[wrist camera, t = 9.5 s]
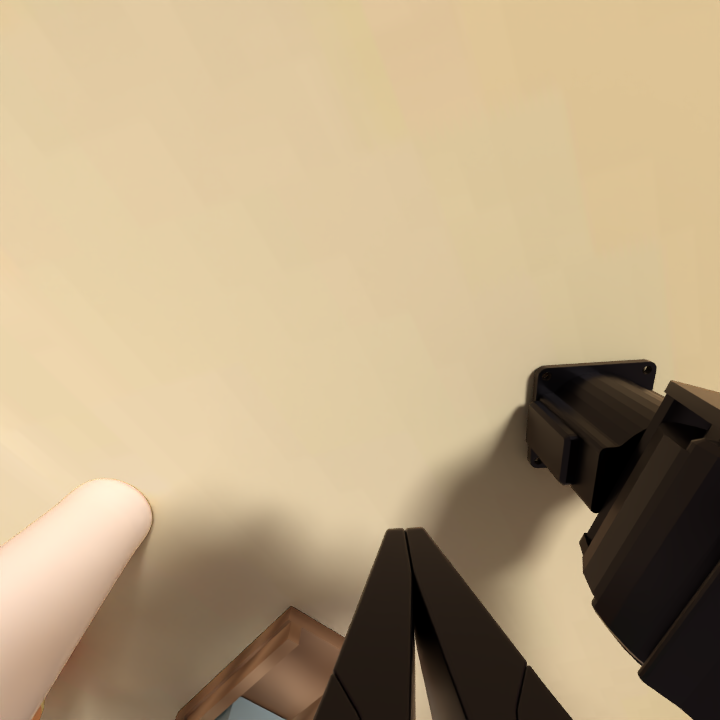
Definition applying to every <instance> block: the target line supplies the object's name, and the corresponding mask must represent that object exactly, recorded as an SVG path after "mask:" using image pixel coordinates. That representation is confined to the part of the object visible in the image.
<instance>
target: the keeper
mask: <svg viewBox="0 0 720 720" xmlns="http://www.w3.org/2000/svg"><path fill="white" fill-rule="evenodd" d="M215 720H285V719H283V718H281V717H279V716H278V715H276V714H274V713H272V712H270V711H268V710H266V709H264V708H262V707H260V706H258V705H256V704H254V703H252V702H250V701H248V700H247V699H245V698H243V697H241V696H240V697H239V698H238V699H237V700H236V701H235V702H234V703H233V704H231V705H230V706H229V707H228V708H227V709H226V710H225V711H224V712H222V713H221V714H220V715H219V716H218V717H217V718H216V719H215Z"/></svg>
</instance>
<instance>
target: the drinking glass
mask: <svg viewBox="0 0 720 720" xmlns="http://www.w3.org/2000/svg"><path fill="white" fill-rule="evenodd" d="M151 524H152V511H151V508H150V505H149V503H148V501H147V500H146V498H145V497H144V496H143V495H142V494H141V493H140V492H139V491H138V490H137V489H136V488H134V487H133V486H131V485H129V484H127V483H125V482H122V481H119V480H115V479H106V478H103V479H95V480H91V481H88V482H85V483H83V484H81V485H80V486H78V487H77V488H75V489H74V490H73V491H72V492H70V493H69V494H68V495H67V496H66V497H65V498H63V499H62V500H61V501H60V502H59V503H58V504H57V505H55V506H54V507H53V508H51V509H50V510H49V511H47V512H46V513H45V514H43V515H42V516H41V517H39V518H38V519H37V520H35V521H34V522H33V523H31V524H30V525H29V526H27V527H26V528H25V529H23V530H22V531H21V532H19V533H18V534H17V535H15V536H14V537H12V538H11V539H10V540H8V541H7V542H6V543H4V544H3V545H2V546H0V720H32V718H33V717H34V715H35V713H36V712H37V710H38V709H39V707H40V705H41V704H42V702H43V701H44V699H45V697H46V696H47V694H48V692H49V691H50V689H51V687H52V686H53V684H54V682H55V681H56V679H57V678H58V676H59V674H60V673H61V671H62V669H63V668H64V666H65V664H66V663H67V661H68V659H69V658H70V656H71V654H72V653H73V651H74V650H75V648H76V646H77V645H78V643H79V641H80V640H81V638H82V636H83V635H84V633H85V631H86V630H87V628H88V626H89V625H90V623H91V622H92V620H93V618H94V617H95V615H96V613H97V612H98V610H99V608H100V607H101V605H102V604H103V602H104V600H105V599H106V597H107V595H108V594H109V592H110V591H111V589H112V587H113V586H114V584H115V582H116V581H117V579H118V578H119V576H120V574H121V573H122V571H123V569H124V568H125V566H126V565H127V563H128V561H129V560H130V558H131V557H132V555H133V554H134V552H135V551H136V550H137V548H138V547H139V545H140V544H141V543H142V541H143V540H144V539H145V537H146V536H147V534H148V532H149V530H150V528H151Z"/></svg>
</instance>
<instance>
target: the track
mask: <svg viewBox="0 0 720 720" xmlns="http://www.w3.org/2000/svg"><path fill="white" fill-rule="evenodd" d="M344 639H345V638H344V637H342V636H341V635H339V634H337V633H336V632H334V631H332V630H331V629H329V628H327V627H326V626H324V625H322V624H321V623H319V622H317V621H316V620H314V619H312V618H310V617H309V616H307V615H305V614H304V613H302V612H300V611H299V610H297V609H295V608H294V607H292V606H291V607H290V608H289V609H287V610H286V611H285V612H284V613H283V614H282V615H281V616H280V617H279V618H278V619H277V620H276V621H275V622H274V623H273V624H271V625H270V626H269V627H268V628H267V629H266V630H265V631H264V632H263V633H262V634H261V635H260V636H259V637H258V638H257V639H256V640H254V641H253V642H252V643H251V644H250V645H249V646H248V647H247V648H246V649H245V650H244V651H243V652H242V653H241V654H240V655H238V656H237V657H236V658H235V659H234V660H233V661H232V662H231V663H230V664H229V665H228V666H227V667H226V668H225V669H224V670H223V671H221V672H220V673H219V674H218V675H217V676H216V677H215V678H214V679H213V680H212V681H211V682H210V683H209V684H208V685H207V686H205V687H204V688H203V689H202V690H201V691H200V692H199V693H198V694H197V695H196V696H195V697H194V698H193V699H192V700H191V701H190V702H188V703H187V704H186V705H185V706H184V707H183V708H182V709H181V710H180V711H179V712H178V714H177V716H176V719H175V720H215V719H216V718H217V717H218V716H219V715H220V714H221V713H222V712H224V711H225V710H226V709H227V708H228V707H229V706H230V705H231V704H233V703H234V702H235V701H236V700H237V699H238V698H239V697H240V696H241V697H243V698H245V699H247V700H248V701H250V702H252V703H254V704H256V705H258V706H260V707H262V708H264V709H266V710H268V711H270V712H272V713H274V714H276V715H278V716H279V717H281V718H283V719H285V720H313V717H314V715H315V713H316V710H317V708H318V705H319V703H320V701H321V698H322V696H323V693H324V691H325V688H326V685H327V683H328V680H329V678H330V675H331V674H333V668H334V665H335V663H336V660H337V657H338V655H339V652H340V650H341V647H342V644H343V642H344Z"/></svg>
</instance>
